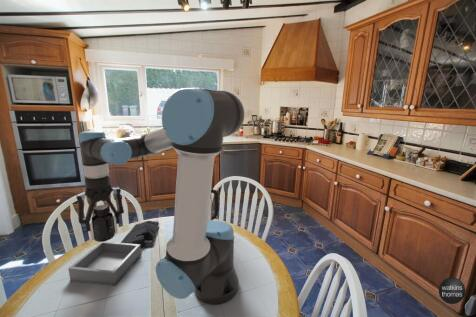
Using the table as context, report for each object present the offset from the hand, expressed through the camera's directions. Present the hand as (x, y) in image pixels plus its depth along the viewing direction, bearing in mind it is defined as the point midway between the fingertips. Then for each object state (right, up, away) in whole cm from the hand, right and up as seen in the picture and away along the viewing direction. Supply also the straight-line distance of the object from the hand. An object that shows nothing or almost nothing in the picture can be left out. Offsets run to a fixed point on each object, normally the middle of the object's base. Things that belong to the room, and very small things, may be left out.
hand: (104, 234), depth 87 cm
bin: (0, -13, +3) cm, 14 cm away
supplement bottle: (0, -1, 0) cm, 1 cm away
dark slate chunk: (+4, -9, +25) cm, 27 cm away
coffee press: (+31, -9, +27) cm, 42 cm away
